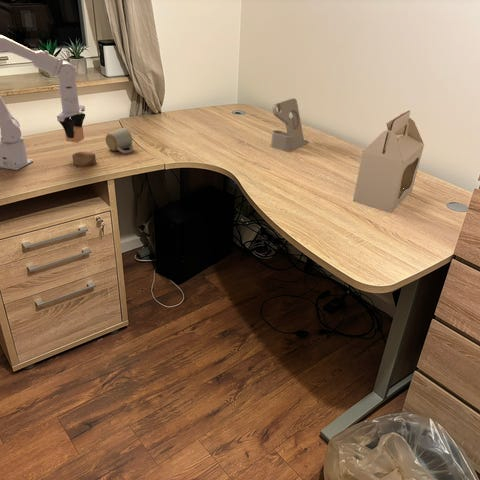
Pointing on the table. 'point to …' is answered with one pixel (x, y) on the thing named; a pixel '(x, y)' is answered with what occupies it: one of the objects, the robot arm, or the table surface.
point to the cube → (76, 135)
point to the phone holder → (288, 127)
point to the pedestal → (84, 159)
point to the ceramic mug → (119, 140)
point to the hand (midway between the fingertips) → (74, 135)
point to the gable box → (390, 165)
